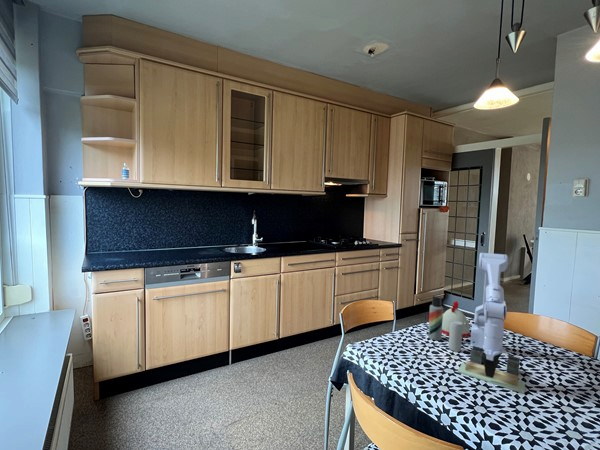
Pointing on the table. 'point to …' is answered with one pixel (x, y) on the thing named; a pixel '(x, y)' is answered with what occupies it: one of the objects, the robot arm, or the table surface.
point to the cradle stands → (511, 361)
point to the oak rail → (498, 374)
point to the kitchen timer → (455, 315)
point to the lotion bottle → (435, 319)
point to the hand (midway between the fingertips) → (490, 372)
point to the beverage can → (455, 336)
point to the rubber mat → (493, 380)
